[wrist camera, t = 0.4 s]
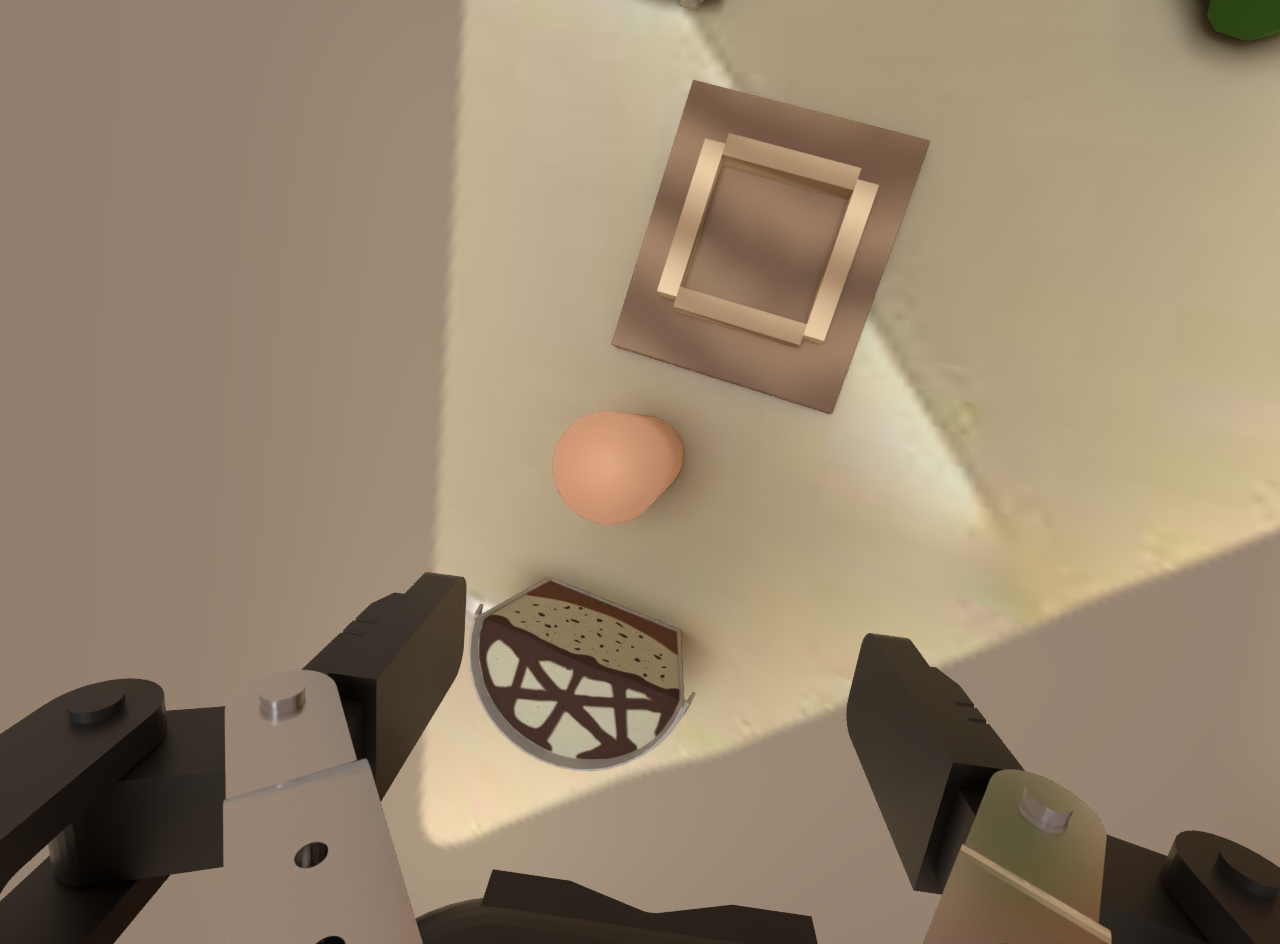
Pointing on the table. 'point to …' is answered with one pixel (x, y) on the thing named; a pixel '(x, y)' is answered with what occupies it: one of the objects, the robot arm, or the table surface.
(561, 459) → the terracotta pin
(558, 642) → the food container
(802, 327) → the board
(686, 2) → the egg carton
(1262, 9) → the bell pepper
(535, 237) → the table surface
